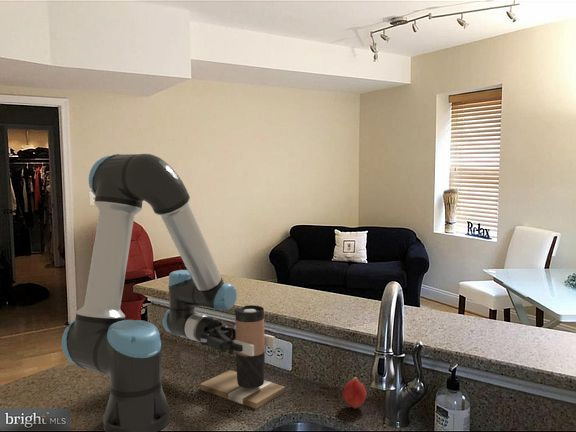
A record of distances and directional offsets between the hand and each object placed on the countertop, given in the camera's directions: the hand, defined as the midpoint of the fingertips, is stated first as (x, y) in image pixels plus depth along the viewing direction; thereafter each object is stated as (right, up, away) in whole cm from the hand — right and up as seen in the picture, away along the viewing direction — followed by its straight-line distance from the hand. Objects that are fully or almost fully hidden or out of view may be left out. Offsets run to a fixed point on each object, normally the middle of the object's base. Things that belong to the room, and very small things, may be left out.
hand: (263, 346), depth 131 cm
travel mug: (-4, -11, +4) cm, 12 cm away
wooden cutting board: (-6, -14, +6) cm, 16 cm away
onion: (+23, -14, -4) cm, 27 cm away
